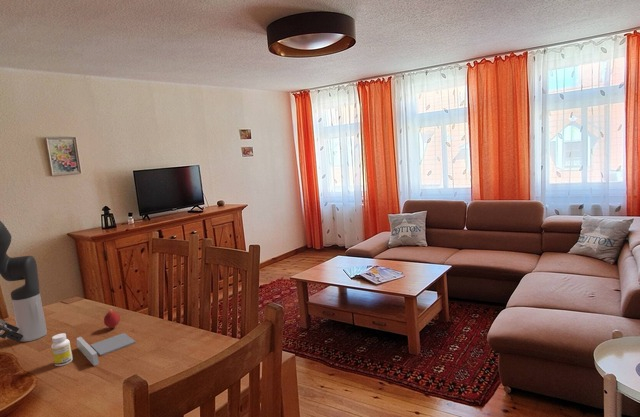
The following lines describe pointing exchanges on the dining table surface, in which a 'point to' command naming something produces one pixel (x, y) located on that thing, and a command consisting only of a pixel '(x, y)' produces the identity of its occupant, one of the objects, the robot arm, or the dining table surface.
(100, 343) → the slate mat
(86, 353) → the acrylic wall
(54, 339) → the supplement bottle
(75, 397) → the dining table surface
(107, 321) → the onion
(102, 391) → the dining table surface
